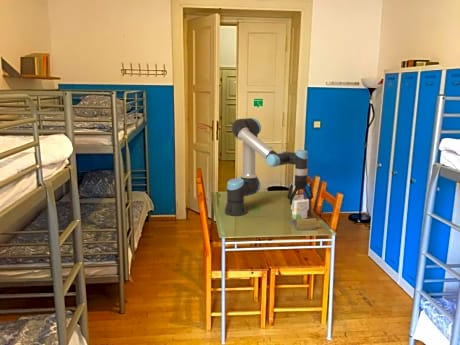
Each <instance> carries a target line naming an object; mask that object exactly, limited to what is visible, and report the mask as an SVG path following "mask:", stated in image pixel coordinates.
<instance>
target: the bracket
mask: <svg viewBox="0 0 460 345" xmlns="http://www.w3.org/2000/svg"><path fill="white" fill-rule="evenodd" d="M288 222H289V223H290V225H291V226H292V227H293V228H294V229H295V230H296V231H310V230H311V231H312V230H313V231H314V230H315V231H316V230H317V218H316V217H315V218H311V217H310V218H308V217H307V218H304V219H290V218H288Z"/></svg>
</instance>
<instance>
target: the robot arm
mask: <svg viewBox="0 0 460 345" xmlns="http://www.w3.org/2000/svg"><path fill="white" fill-rule="evenodd" d="M261 130H262V126H261V123H260V121H259V120H258V119H257V118H252V117H249V118H237V119H236V120H234V121H233V122H232V124H231V133H232V134H233V136H234V137H235V138H236V139H237V140H239V141H242V175H241V176H240V178H239V177H238V178H232V179H229V180H228V181H227V183H226V184H227V186H226V205H225V208H224V214H225V215H227V216H232V217H233V216H234V217H238V216H239V217H240V216H245V215H246V214H247V207H246V204H245V197H248V196H252V195H255V194H257V193H258V192H259V191H260V189H261V181H260V179H259V178H258V175H257V174H256V153H257V154H259V155H260V157H262V158H263V159H265V162H266V164H267V166H268V167H271V168H272V167H273V168H275V167H279V166H283V165H284V166H285V165H294V174H295V175H294V183H289V188H288V191H287V192H288V193H287V196H286V199H287V200H289V205H290V210H293V209H294V200H293V198H294V196H295V195H297V192H298V191H299V190H301V191H302V190H303V191H304V194H305V196H306V199H305V200H308V207H307V210H309V204H310V202H311V201H312V199H314V193H313V188H312V183H311V182H307V181H308V161H309V156H308V155H309V154H308V151H307V150H305V149H298V150H296V151H295V152H293V151H287V150H286V151H285V150H284V151H281V152H279V153H278V152H277V151H275V150H274V149H273V148H271V147H270V146H268V144H266V143H265V142H264V141H262V140H261V138H258V135H259V134H260V132H261ZM307 187H308V190H307ZM293 189H294V190H293Z"/></svg>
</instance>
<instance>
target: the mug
mask: <svg viewBox="0 0 460 345" xmlns="http://www.w3.org/2000/svg"><path fill="white" fill-rule="evenodd" d="M311 216H312V202H311V201H310V204H309V210H307V218H308V217H311Z"/></svg>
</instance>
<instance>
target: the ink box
mask: <svg viewBox="0 0 460 345" xmlns="http://www.w3.org/2000/svg"><path fill="white" fill-rule="evenodd" d="M304 194H305V193H303V194H295V196H294V198H293V200H294V209H293V210H292V211H291V218H292V219H293V220H297V219H305V218H307V219H308V217H307V207H308V200H306V199H305V198H304V197H305V195H304Z"/></svg>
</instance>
